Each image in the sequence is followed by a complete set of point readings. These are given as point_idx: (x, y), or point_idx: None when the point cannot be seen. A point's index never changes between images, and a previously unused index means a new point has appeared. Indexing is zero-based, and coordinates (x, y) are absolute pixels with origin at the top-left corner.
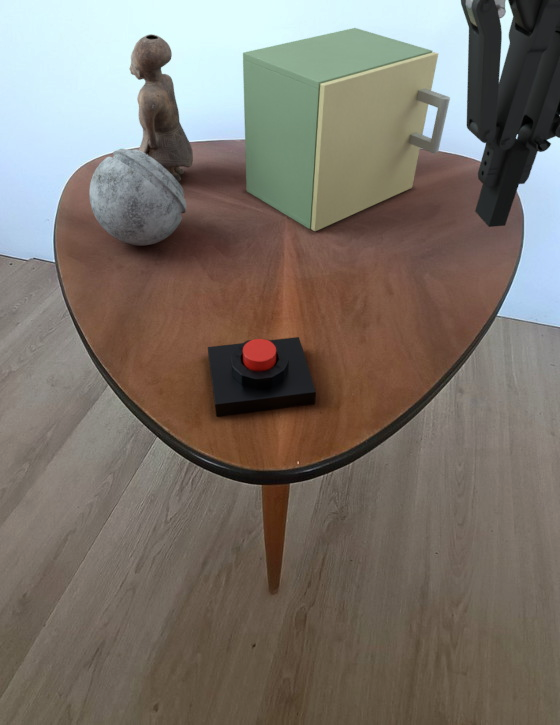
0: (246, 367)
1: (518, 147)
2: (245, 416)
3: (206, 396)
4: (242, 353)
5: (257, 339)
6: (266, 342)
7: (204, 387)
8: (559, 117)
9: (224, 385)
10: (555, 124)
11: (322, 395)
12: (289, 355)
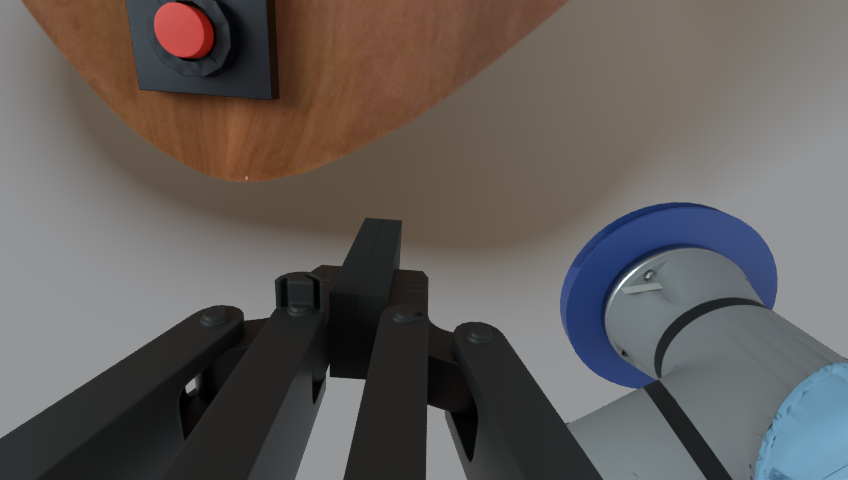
0: None
1: (357, 362)
2: (190, 97)
3: None
4: None
5: (176, 4)
6: (190, 15)
7: None
8: (455, 426)
9: (150, 56)
10: (448, 411)
11: (291, 85)
12: (244, 16)
